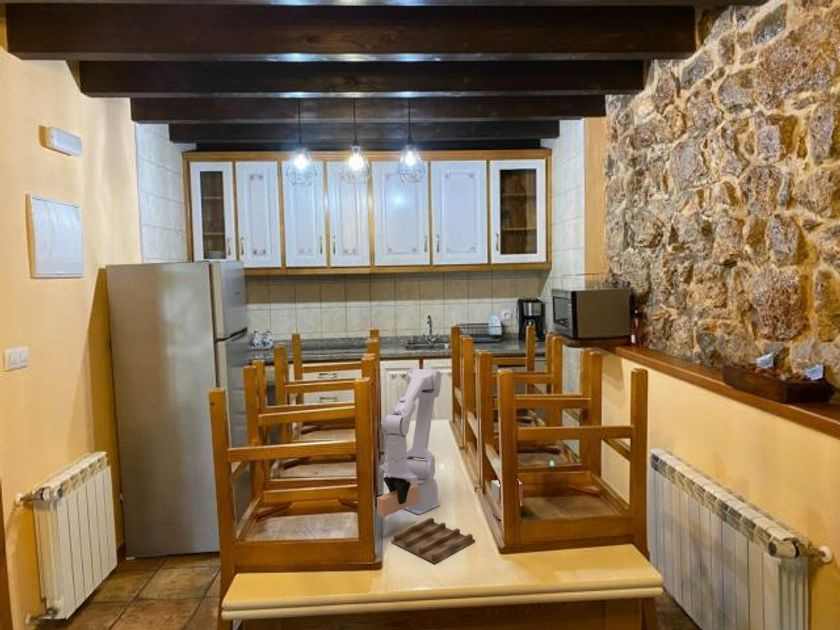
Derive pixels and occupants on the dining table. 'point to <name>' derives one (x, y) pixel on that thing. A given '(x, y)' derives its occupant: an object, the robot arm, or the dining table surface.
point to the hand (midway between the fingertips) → (398, 501)
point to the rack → (432, 541)
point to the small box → (496, 491)
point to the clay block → (396, 501)
